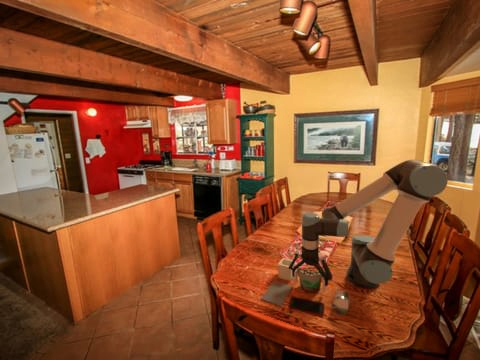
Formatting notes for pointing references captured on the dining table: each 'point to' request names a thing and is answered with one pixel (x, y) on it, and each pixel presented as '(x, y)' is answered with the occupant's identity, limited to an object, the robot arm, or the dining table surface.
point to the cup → (285, 269)
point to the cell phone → (307, 306)
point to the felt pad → (277, 293)
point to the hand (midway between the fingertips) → (309, 286)
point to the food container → (310, 280)
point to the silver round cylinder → (341, 302)
